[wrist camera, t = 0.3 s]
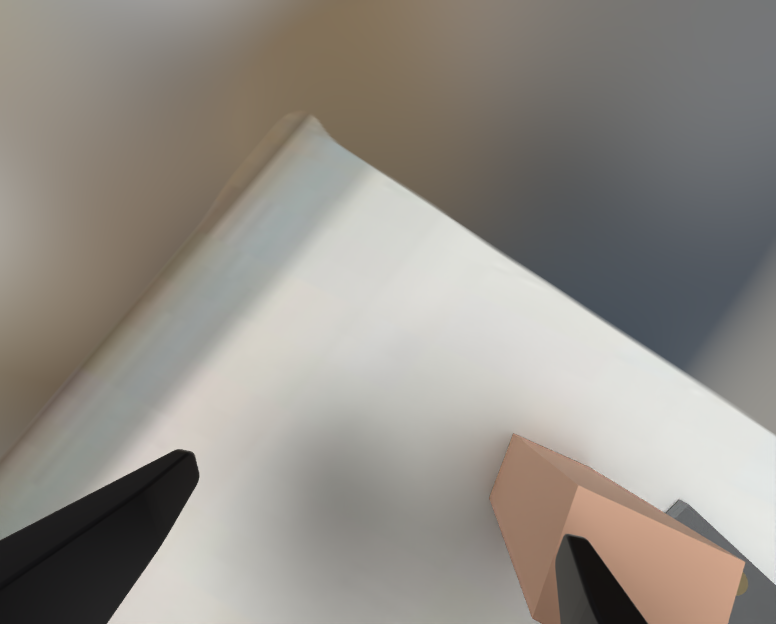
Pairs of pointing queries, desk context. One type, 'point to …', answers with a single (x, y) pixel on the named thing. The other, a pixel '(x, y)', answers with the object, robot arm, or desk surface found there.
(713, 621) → the terracotta block
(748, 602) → the standoff chassis
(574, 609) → the robot arm
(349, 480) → the desk surface
